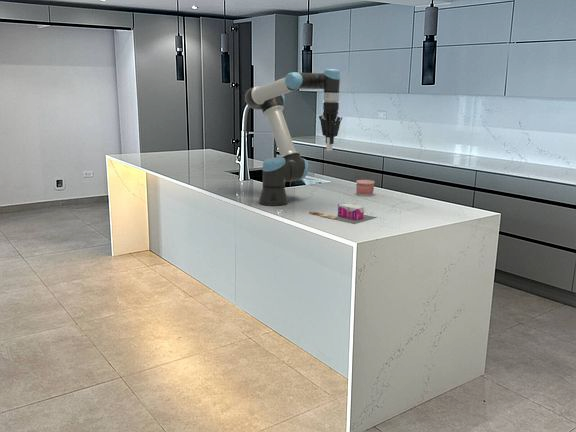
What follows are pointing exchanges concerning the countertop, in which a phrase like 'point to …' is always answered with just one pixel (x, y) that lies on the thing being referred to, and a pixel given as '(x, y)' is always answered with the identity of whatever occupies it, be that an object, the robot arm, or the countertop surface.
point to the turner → (322, 215)
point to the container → (365, 187)
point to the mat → (365, 218)
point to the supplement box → (350, 211)
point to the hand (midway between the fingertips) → (329, 150)
